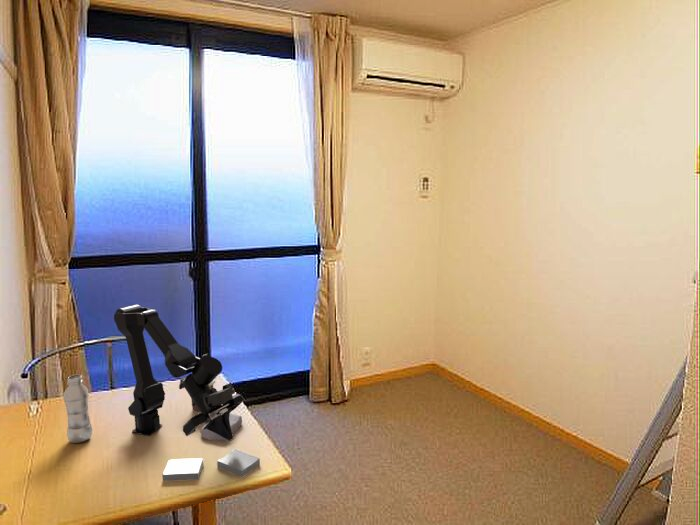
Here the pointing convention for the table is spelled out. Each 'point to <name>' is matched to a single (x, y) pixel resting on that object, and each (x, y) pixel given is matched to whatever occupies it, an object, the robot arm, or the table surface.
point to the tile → (238, 463)
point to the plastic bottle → (77, 410)
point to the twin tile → (183, 469)
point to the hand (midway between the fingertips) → (231, 439)
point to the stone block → (234, 424)
